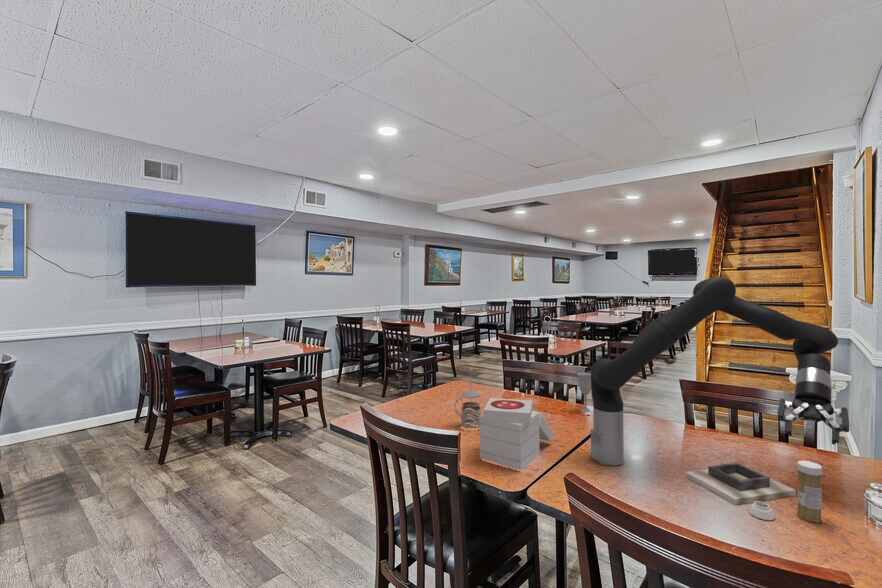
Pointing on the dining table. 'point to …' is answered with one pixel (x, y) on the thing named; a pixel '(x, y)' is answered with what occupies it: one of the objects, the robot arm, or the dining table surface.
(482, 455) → the stack of boxes
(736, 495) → the condiment holder
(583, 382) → the chalice
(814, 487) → the sprinkles bottle
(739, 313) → the robot arm
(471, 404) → the french press
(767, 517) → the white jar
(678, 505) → the dining table surface
